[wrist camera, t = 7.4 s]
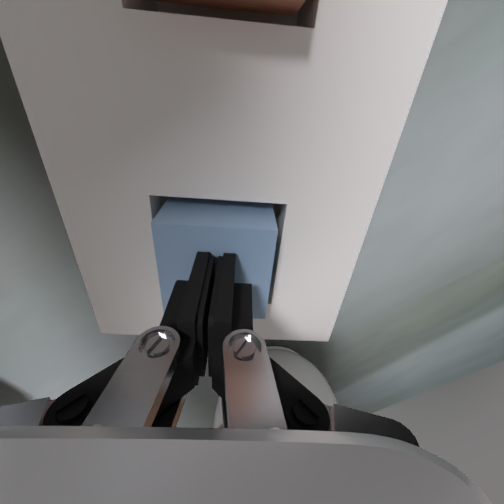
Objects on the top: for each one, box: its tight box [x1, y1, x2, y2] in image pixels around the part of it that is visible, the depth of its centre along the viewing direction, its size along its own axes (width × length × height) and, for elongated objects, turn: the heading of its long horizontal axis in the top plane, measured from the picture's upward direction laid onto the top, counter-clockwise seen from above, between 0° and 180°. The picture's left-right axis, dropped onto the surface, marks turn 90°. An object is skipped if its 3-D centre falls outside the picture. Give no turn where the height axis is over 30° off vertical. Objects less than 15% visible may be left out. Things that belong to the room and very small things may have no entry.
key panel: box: [0, 0, 448, 341], centre depth 12 cm, size 24×14×5 cm, turn 176°
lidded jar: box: [213, 346, 338, 428], centre depth 22 cm, size 11×11×9 cm
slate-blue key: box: [151, 197, 278, 319], centre depth 13 cm, size 5×5×3 cm
